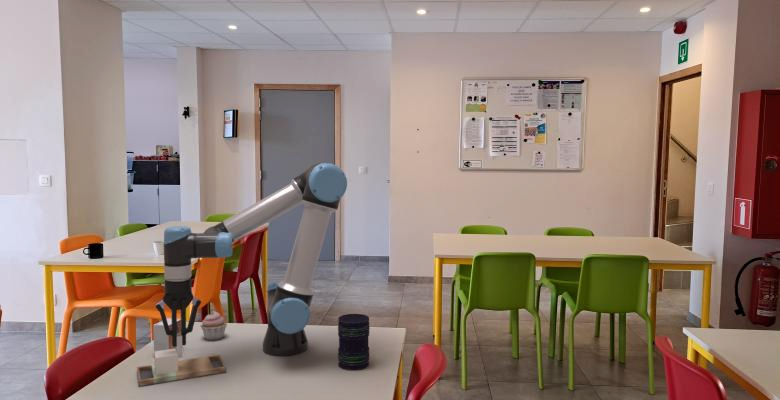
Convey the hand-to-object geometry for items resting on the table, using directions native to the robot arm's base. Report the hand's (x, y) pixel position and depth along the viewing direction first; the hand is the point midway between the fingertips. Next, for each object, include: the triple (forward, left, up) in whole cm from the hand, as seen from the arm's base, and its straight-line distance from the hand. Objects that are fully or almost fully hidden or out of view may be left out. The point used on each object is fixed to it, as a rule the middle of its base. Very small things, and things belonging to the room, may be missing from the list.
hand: (179, 356), depth 164 cm
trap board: (-1, 0, -5) cm, 5 cm away
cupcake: (-15, -29, -5) cm, 33 cm away
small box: (+1, -20, -5) cm, 21 cm away
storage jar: (-50, +17, -5) cm, 53 cm away
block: (+4, 0, -4) cm, 5 cm away
